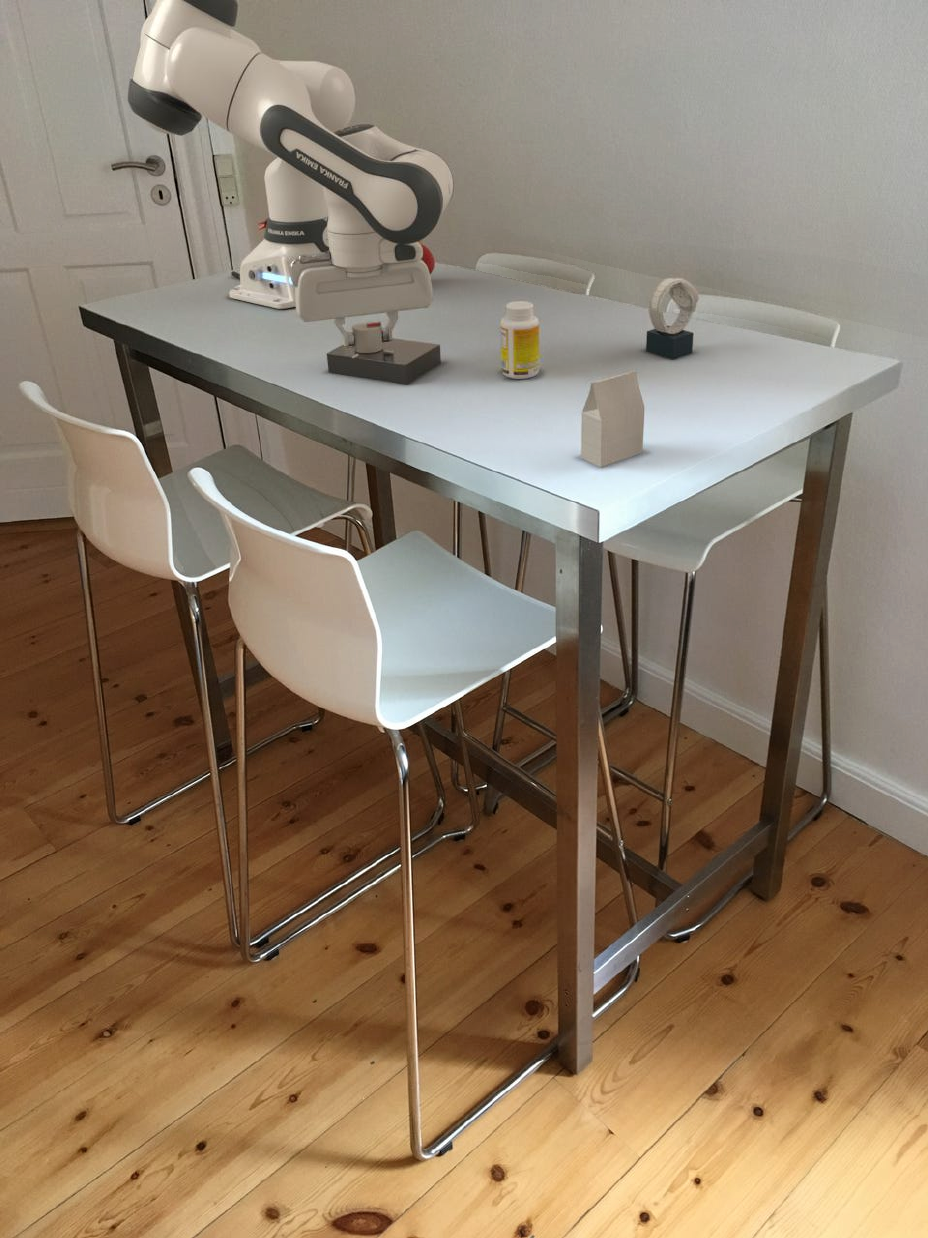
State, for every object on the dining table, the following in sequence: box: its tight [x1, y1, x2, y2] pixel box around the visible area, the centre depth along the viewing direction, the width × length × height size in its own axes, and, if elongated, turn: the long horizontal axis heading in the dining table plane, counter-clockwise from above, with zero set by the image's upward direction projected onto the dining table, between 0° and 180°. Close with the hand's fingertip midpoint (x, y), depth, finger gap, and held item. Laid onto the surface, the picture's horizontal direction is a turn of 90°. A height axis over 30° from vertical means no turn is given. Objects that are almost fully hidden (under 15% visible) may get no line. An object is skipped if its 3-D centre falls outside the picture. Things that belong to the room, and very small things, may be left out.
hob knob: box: [351, 321, 383, 353], centre depth 163 cm, size 4×4×4 cm
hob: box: [326, 337, 442, 385], centre depth 164 cm, size 14×10×3 cm
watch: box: [645, 277, 700, 360], centre depth 163 cm, size 6×8×11 cm
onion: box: [418, 240, 436, 275], centre depth 204 cm, size 6×6×8 cm
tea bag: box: [580, 370, 646, 468], centre depth 131 cm, size 4×7×10 cm, turn 124°
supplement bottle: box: [499, 300, 540, 380], centre depth 158 cm, size 6×6×10 cm
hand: (368, 343), depth 163 cm, fingers closed on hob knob, 4 cm apart
